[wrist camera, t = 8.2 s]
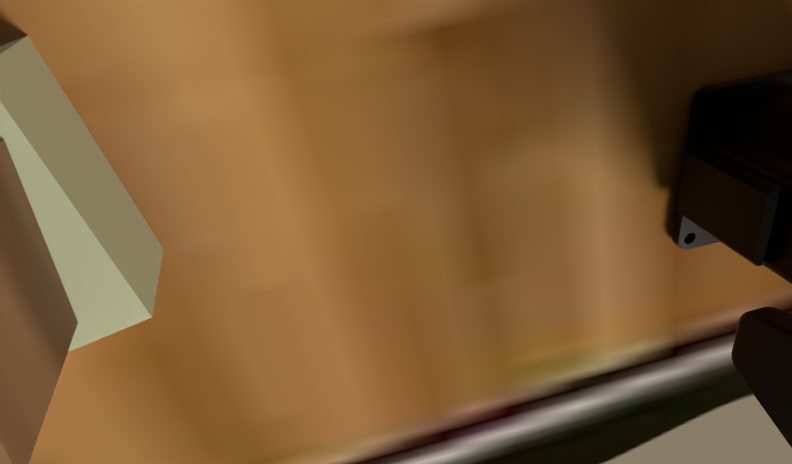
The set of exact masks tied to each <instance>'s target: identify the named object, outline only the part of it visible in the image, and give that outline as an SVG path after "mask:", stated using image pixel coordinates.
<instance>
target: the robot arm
mask: <svg viewBox="0 0 792 464" xmlns="http://www.w3.org/2000/svg"><path fill="white" fill-rule="evenodd" d="M710 97H711V100H710V103H709V104H708V105H707V106H706V103H707V101H708V99H709V98H710ZM687 235H688V236H687ZM686 236H687V237H686ZM685 237H686V238H685ZM672 240H673V242H674V243H675V244H676V245H678V246H679V247H680V248H682V249H691V248H695V247H699V246H703V245H708V244H712V243H716V242H722V243H723V244H725V245H726V246H728V247H729V248H731V249H732V250H733V251H735V252H736V253H738V254H739V255H741V256H742V257H744V258H745V259H747V260H748V261H750V262H751V263H753V264H754V265H757V266H760V265H764V266H766V267H767V268H769V269H770V270H772V271H773V272H775V273H776V274H778V275H779V276H781V277H782V278H784V279H785V280H787V281H788V282H790V283H791V284H792V70H789V71H784V72H778V73H773V74H768V75H763V76H758V77H752V78H747V79H742V80H737V81H731V82H726V83H721V84H716V85H710V86H706V87H704V88H701V89H700V90H699V91H698V92H697V93H696V95H695V96H694V98H693V101H692V107H691V114H690V120H689V127H688V134H687V140H686V147H685V154H684V160H683V167H682V174H681V181H680V187H679V194H678V201H677V207H676V214H675V221H674V227H673V234H672ZM732 361H733V364H734V366H735V368H736V370H737V372H738V373H739V374H740V376H741V377H742V379H743V380H744V381H745V383H746V384H747V386H748V387H749V388H750V390H751V391H752V393H753V394H754V395H755V397H756V398H757V400H758V401H759V402H760V404H761V405H762V407H763V408H764V410H765V411H766V412H767V414H768V415H769V417H770V418H771V419H772V421H773V422H774V423H775V425H776V426H777V428H778V429H779V431H780V432H781V433H782V434H783V436H784V438H785V439H786V440H787V442H788V443H789V445H790V446H791V447H792V313H789V312H786V311H783V310H780V309H777V308H773V307H764V308H760V309H756V310H752V311H749V312H746V313H744V314H743V315H742V316H741V317H740V320H739V323H738V328H737V332H736V336H735V340H734V345H733V349H732Z"/></svg>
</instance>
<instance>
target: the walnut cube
mask: <svg viewBox="0 0 792 464" xmlns="http://www.w3.org/2000/svg"><path fill="white" fill-rule="evenodd" d="M77 324H78V321H77V319H76V316H75V314H74V311H73V309H72V306H71V304H70V301H69V299H68V296H67V294H66V291H65V289H64V286H63V284H62V281H61V279H60V277H59V274H58V272H57V269H56V267H55V264H54V262H53V259H52V257H51V254H50V252H49V249H48V247H47V244H46V242H45V239H44V237H43V234H42V232H41V230H40V227H39V225H38V222H37V220H36V217H35V215H34V212H33V210H32V207H31V205H30V202H29V200H28V197H27V195H26V192H25V190H24V188H23V185H22V183H21V180H20V178H19V175H18V173H17V170H16V168H15V165H14V163H13V160H12V158H11V155H10V153H9V150H8V148H7V146H6V143H5V141H4V139H0V464H28V463H29V460H30V457H31V454H32V452H33V449H34V446H35V443H36V440H37V437H38V435H39V432H40V429H41V426H42V423H43V420H44V418H45V415H46V412H47V409H48V406H49V403H50V401H51V398H52V395H53V392H54V389H55V387H56V384H57V381H58V378H59V375H60V372H61V370H62V367H63V364H64V361H65V358H66V355H67V353H68V350H69V347H70V344H71V341H72V338H73V336H74V333H75V330H76V327H77Z"/></svg>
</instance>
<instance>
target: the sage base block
mask: <svg viewBox="0 0 792 464" xmlns="http://www.w3.org/2000/svg"><path fill="white" fill-rule="evenodd" d="M0 139H4V141H5V143H6V146H7V148H8V150H9V153H10V155H11V158H12V160H13V163H14V165H15V168H16V170H17V173H18V175H19V178H20V180H21V183H22V185H23V188H24V190H25V192H26V195H27V197H28V200H29V202H30V205H31V207H32V210H33V212H34V215H35V217H36V220H37V222H38V225H39V227H40V230H41V232H42V234H43V237H44V239H45V242H46V244H47V247H48V249H49V252H50V254H51V257H52V259H53V262H54V264H55V267H56V269H57V272H58V274H59V277H60V279H61V281H62V284H63V286H64V289H65V291H66V294H67V296H68V299H69V301H70V304H71V306H72V309H73V311H74V314H75V316H76V319H77V321H78V324H77V327H76V330H75V333H74V336H73V338H72V341H71V344H70V347H69V350H68V352H69V351H71V350H74V349H76V348H79V347H81V346H83V345H86V344H88V343H91V342H93V341H96V340H98V339H100V338H103V337H105V336H108V335H110V334H113V333H115V332H117V331H120V330H122V329H125V328H127V327H130V326H132V325H134V324H137V323H139V322H142V321H144V320H147V319H149V318H151V317H152V314H153V308H154V302H155V296H156V290H157V284H158V278H159V272H160V266H161V260H162V255H163V247H162V246H161V244H160V243H159V241H158V240H157V238H156V236H155V235H154V233H153V232H152V230H151V229H150V227H149V225H148V224H147V222H146V221H145V219H144V218H143V216H142V214H141V213H140V211H139V210H138V208H137V207H136V205H135V203H134V202H133V200H132V199H131V197H130V196H129V194H128V192H127V191H126V189H125V188H124V186H123V185H122V183H121V181H120V180H119V178H118V177H117V175H116V174H115V172H114V170H113V169H112V167H111V166H110V164H109V162H108V161H107V159H106V158H105V156H104V155H103V153H102V151H101V150H100V148H99V147H98V145H97V144H96V142H95V140H94V139H93V137H92V136H91V134H90V133H89V131H88V129H87V128H86V126H85V125H84V123H83V122H82V120H81V118H80V117H79V115H78V114H77V112H76V111H75V109H74V107H73V106H72V104H71V103H70V101H69V100H68V98H67V96H66V95H65V93H64V92H63V90H62V89H61V87H60V85H59V84H58V82H57V81H56V79H55V78H54V76H53V74H52V73H51V71H50V70H49V68H48V66H47V65H46V63H45V62H44V60H43V59H42V57H41V55H40V54H39V52H38V51H37V49H36V48H35V46H34V44H33V43H32V41H31V40H30V38H29V37H28V36H25V37H22V38H20V39H17V40H14V41H12V42H9V43H6V44H4V45H1V46H0Z"/></svg>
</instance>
